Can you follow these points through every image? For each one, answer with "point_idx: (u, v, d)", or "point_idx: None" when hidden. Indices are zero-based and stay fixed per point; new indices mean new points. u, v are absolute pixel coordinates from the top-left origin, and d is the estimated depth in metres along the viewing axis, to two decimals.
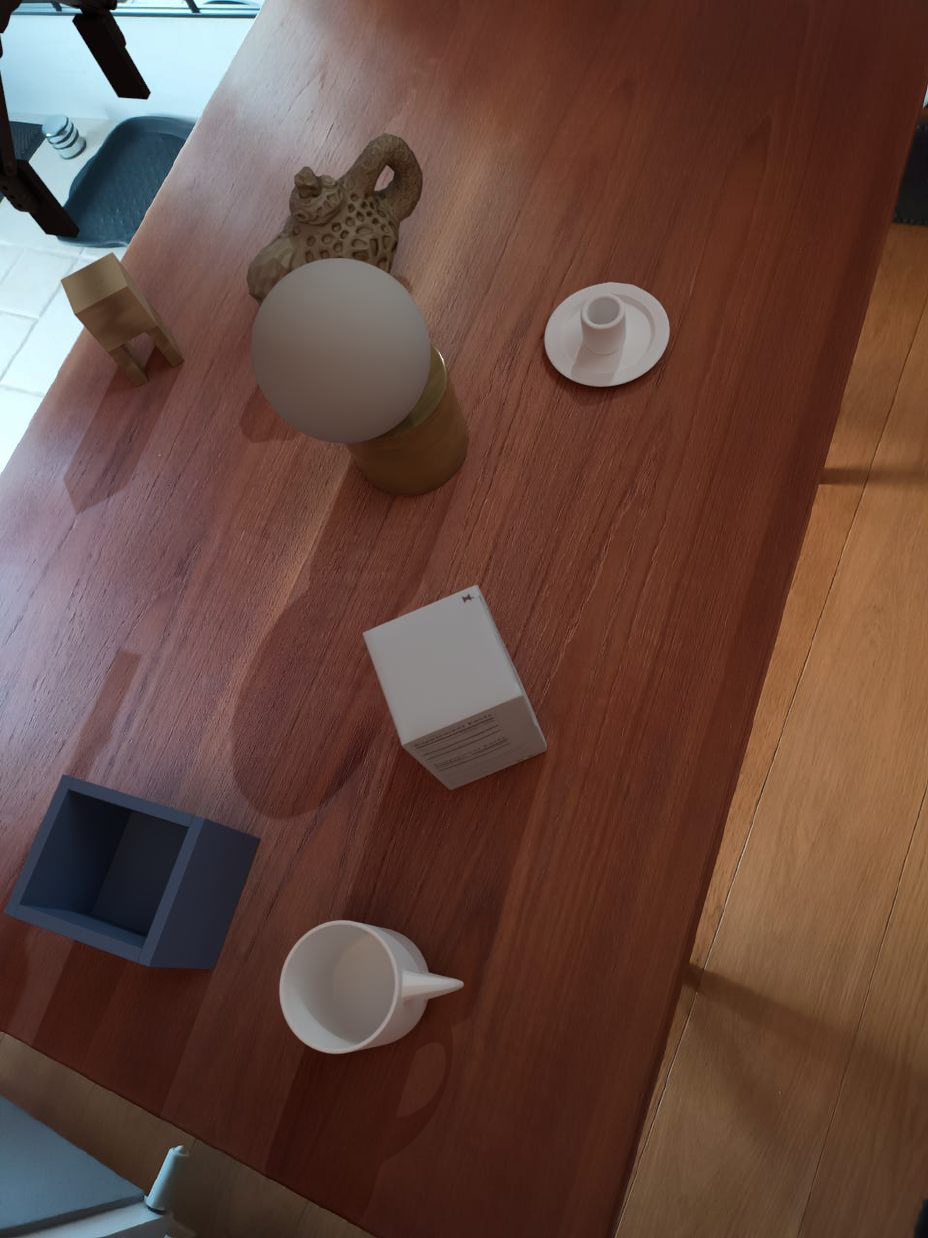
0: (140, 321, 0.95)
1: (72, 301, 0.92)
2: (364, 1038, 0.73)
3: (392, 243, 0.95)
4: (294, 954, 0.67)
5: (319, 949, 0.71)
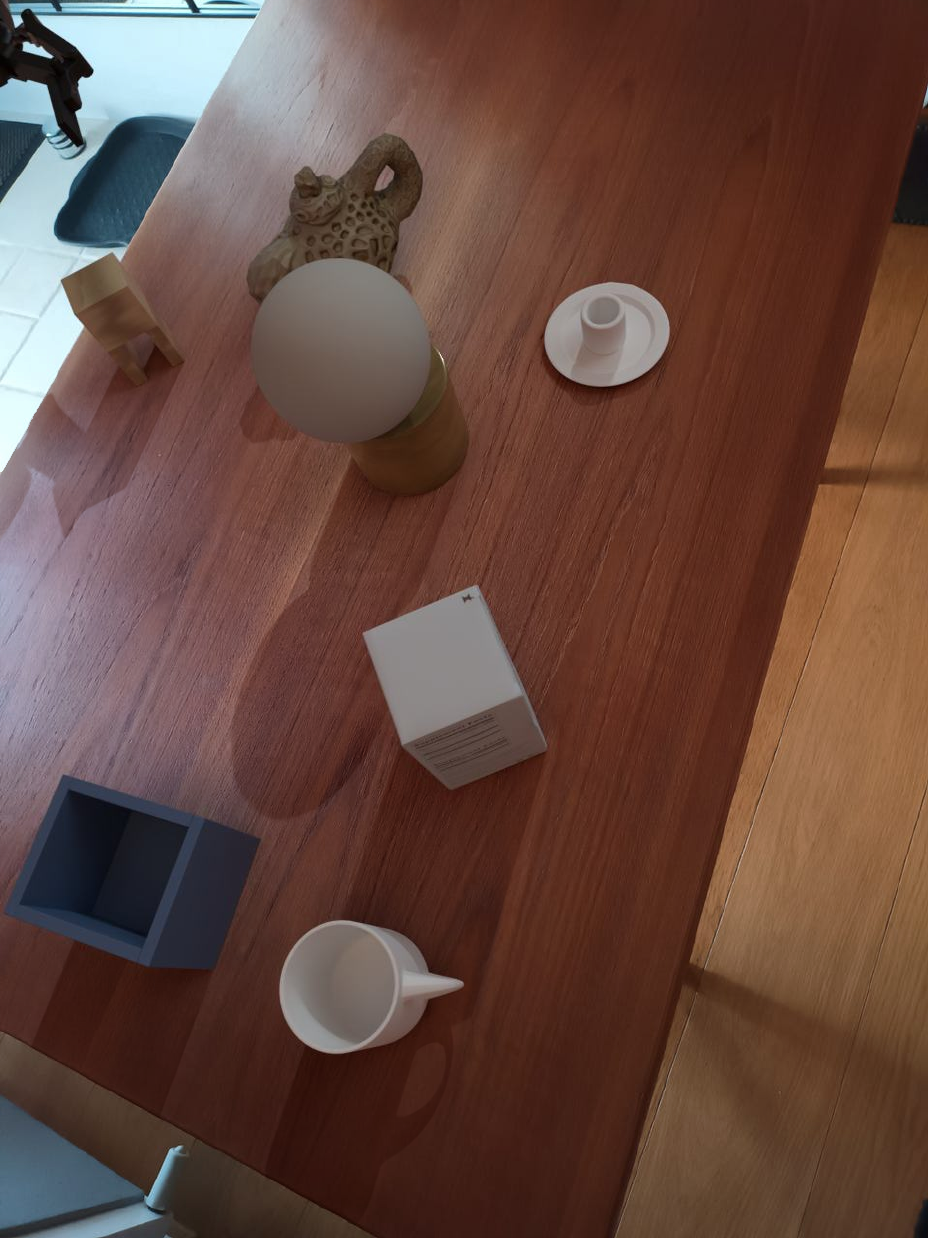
0: (140, 321, 0.95)
1: (72, 301, 0.92)
2: (364, 1038, 0.73)
3: (392, 243, 0.95)
4: (294, 954, 0.67)
5: (319, 949, 0.71)
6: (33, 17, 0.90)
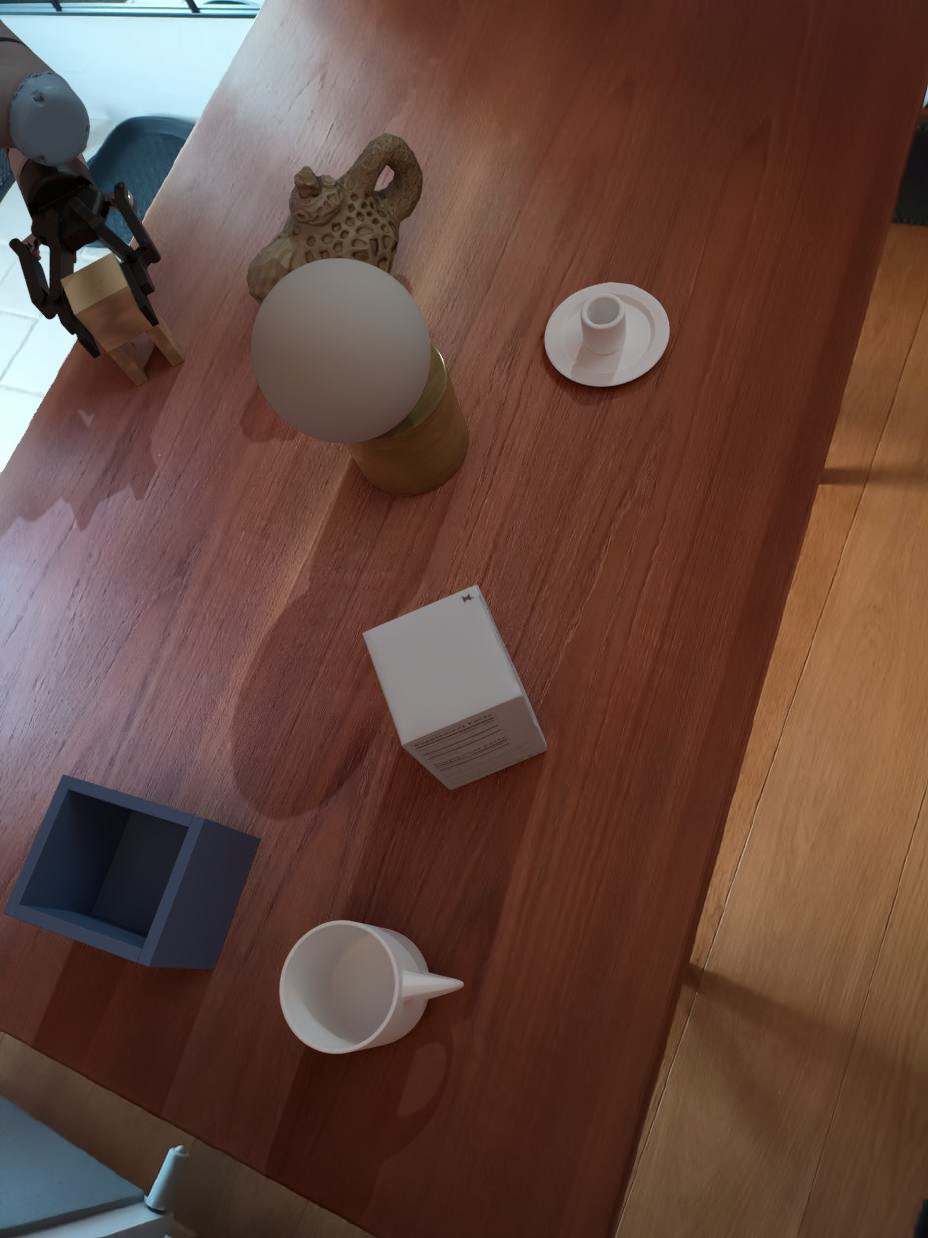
0: (140, 321, 0.95)
1: (72, 301, 0.92)
2: (364, 1038, 0.73)
3: (392, 243, 0.95)
4: (294, 954, 0.67)
5: (319, 949, 0.71)
6: (124, 193, 0.97)
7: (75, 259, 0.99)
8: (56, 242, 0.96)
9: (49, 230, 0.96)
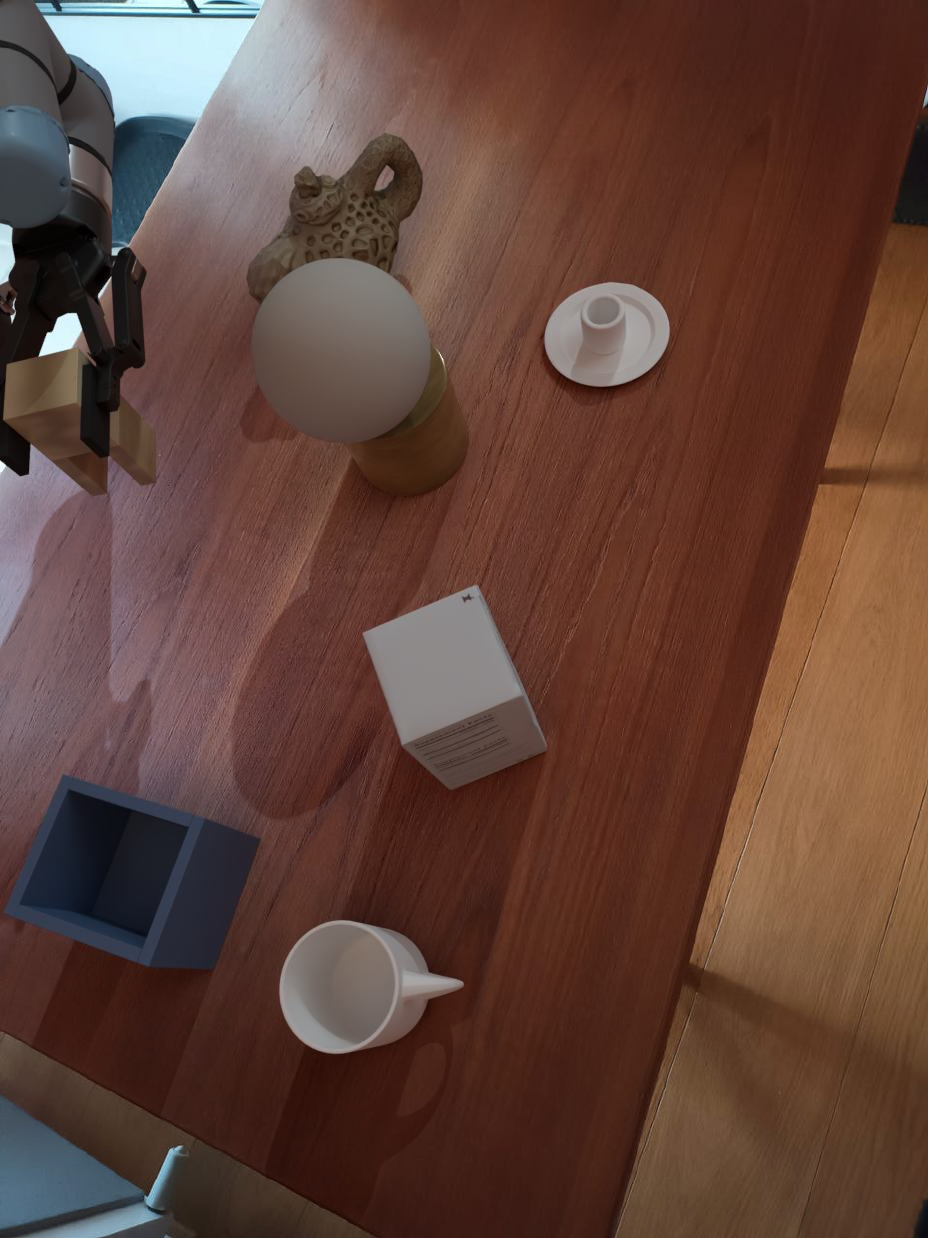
0: None
1: (7, 400, 0.70)
2: (364, 1038, 0.73)
3: (392, 243, 0.95)
4: (294, 954, 0.67)
5: (319, 949, 0.71)
6: (126, 264, 0.74)
7: (52, 327, 0.77)
8: (25, 307, 0.74)
9: (22, 288, 0.74)
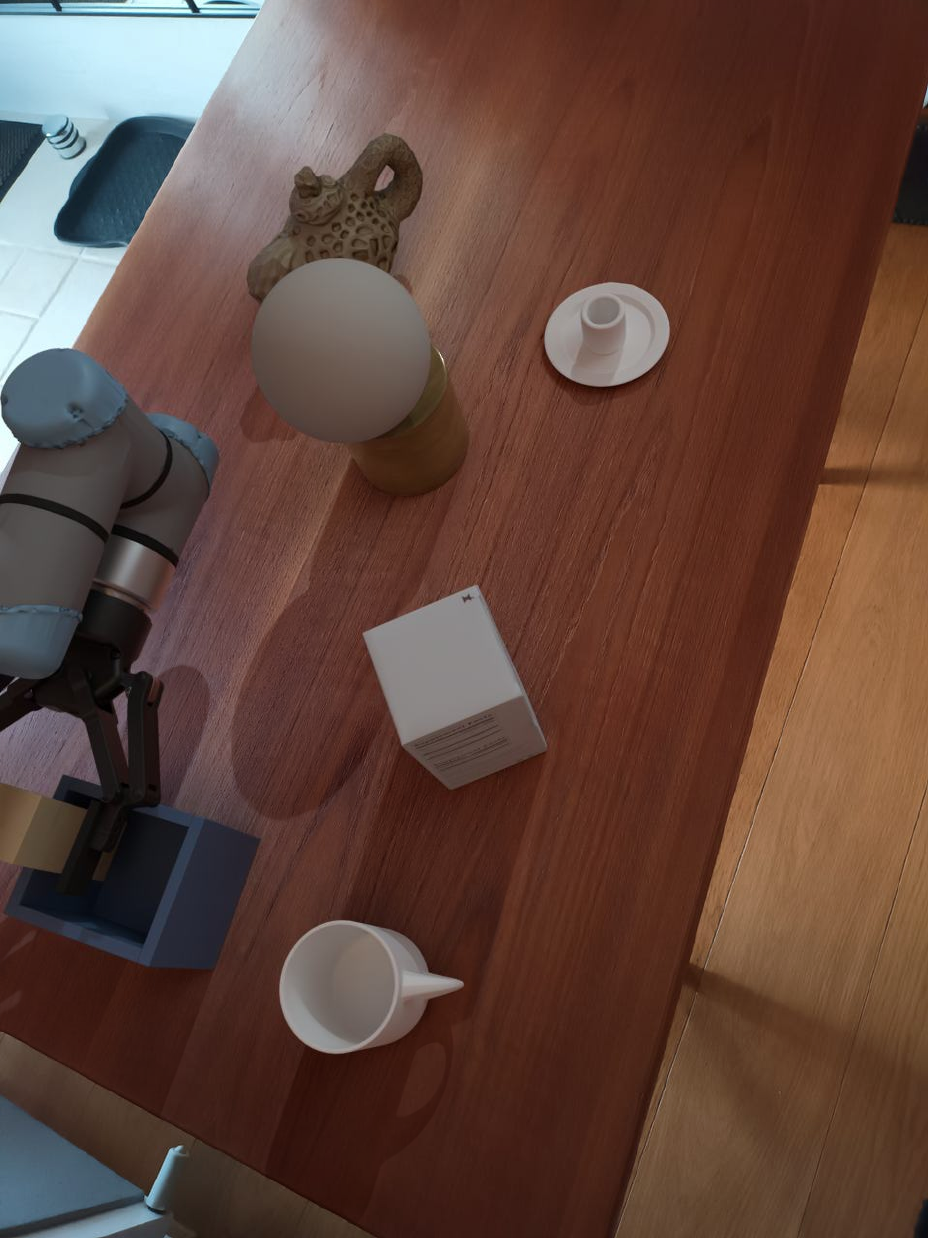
0: None
1: None
2: (364, 1038, 0.73)
3: (392, 243, 0.95)
4: (294, 954, 0.67)
5: (319, 949, 0.71)
6: (142, 694, 0.70)
7: (41, 707, 0.75)
8: (11, 697, 0.72)
9: (25, 677, 0.72)
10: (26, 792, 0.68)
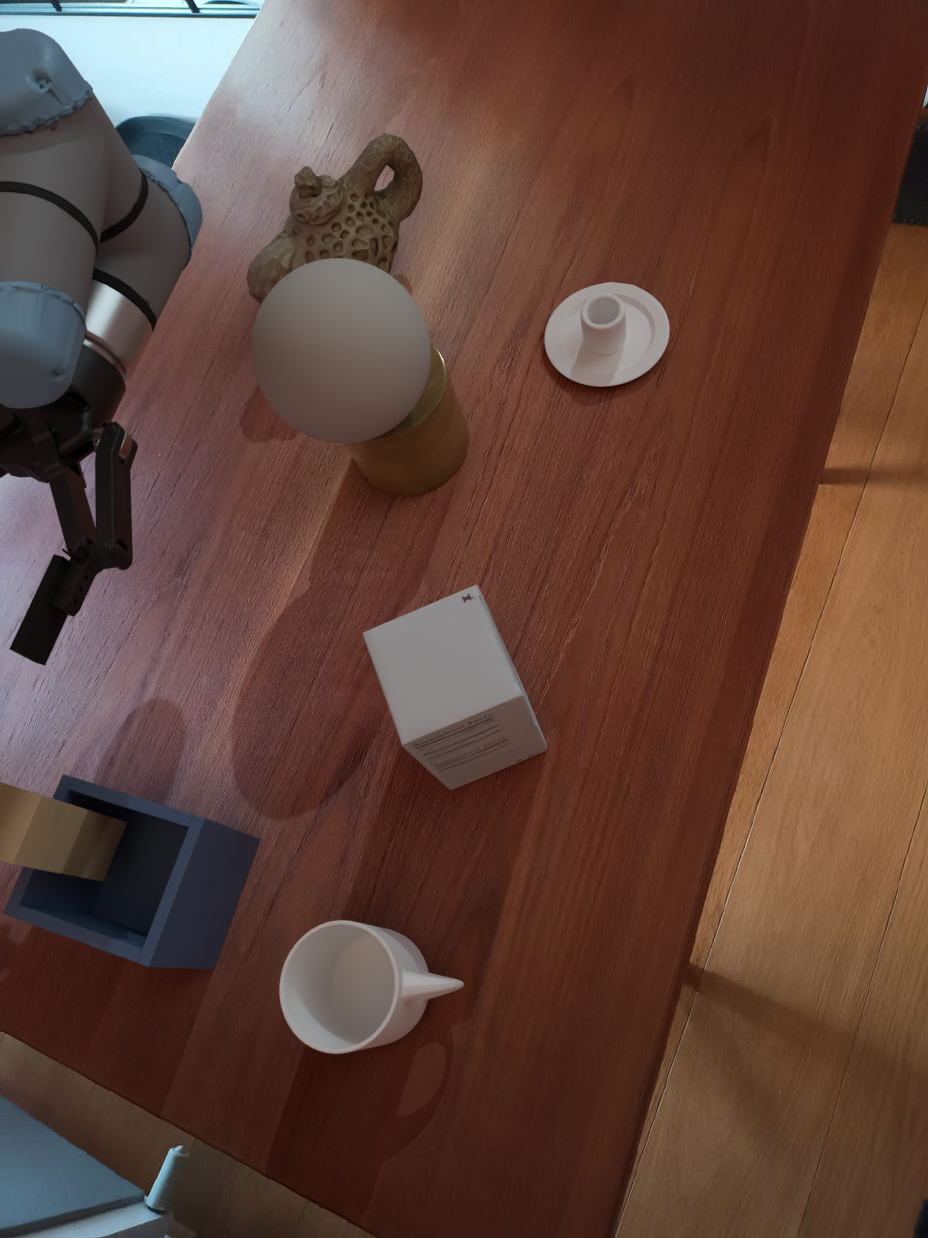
0: None
1: None
2: (364, 1038, 0.73)
3: (392, 243, 0.95)
4: (294, 954, 0.67)
5: (319, 949, 0.71)
6: (112, 444, 0.63)
7: (0, 475, 0.67)
8: None
9: None
10: (26, 792, 0.68)
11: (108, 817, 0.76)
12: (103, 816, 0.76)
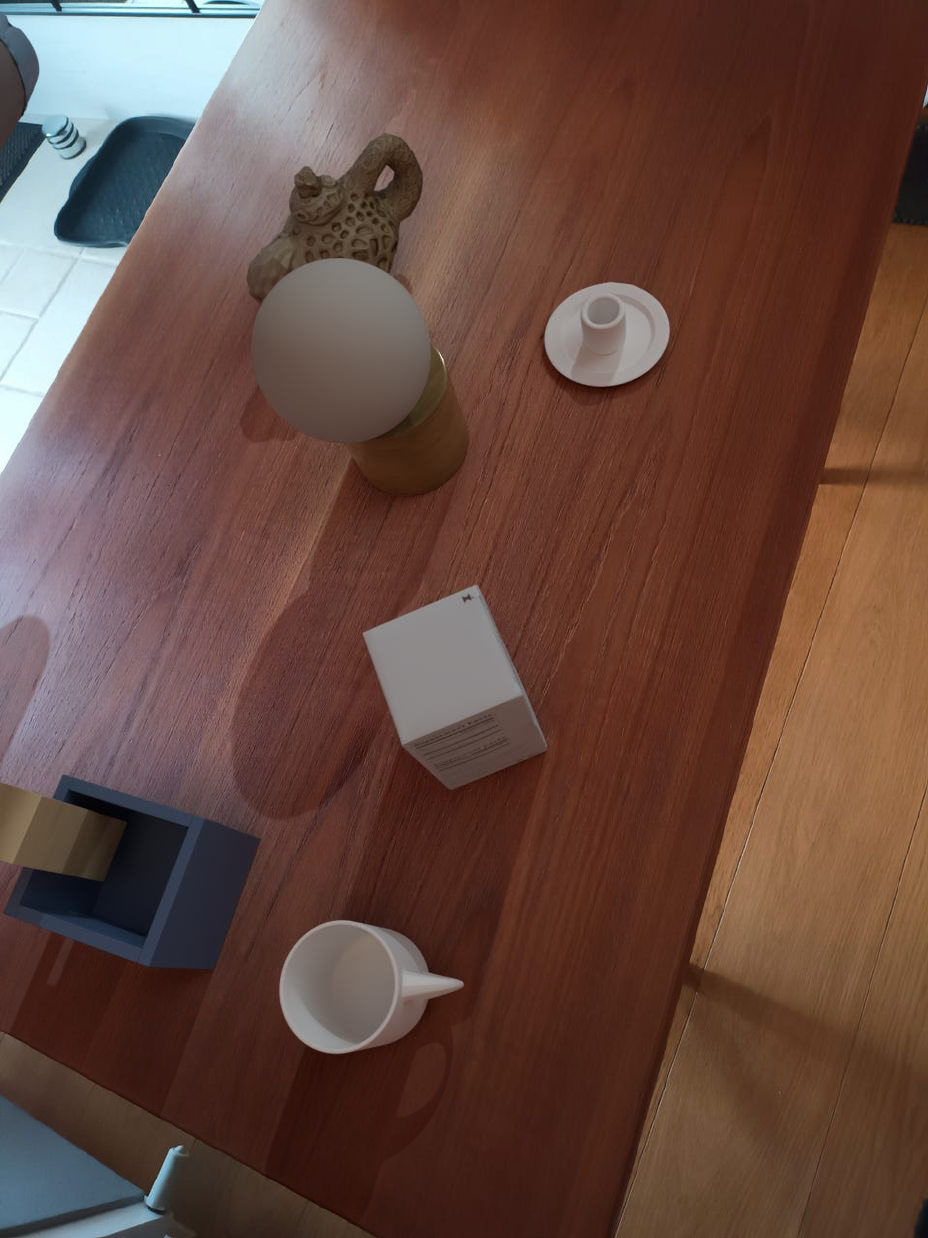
0: None
1: None
2: (364, 1038, 0.73)
3: (392, 243, 0.95)
4: (294, 954, 0.67)
5: (319, 949, 0.71)
6: None
7: None
8: None
9: None
10: (26, 792, 0.68)
11: (108, 817, 0.76)
12: (103, 816, 0.76)
